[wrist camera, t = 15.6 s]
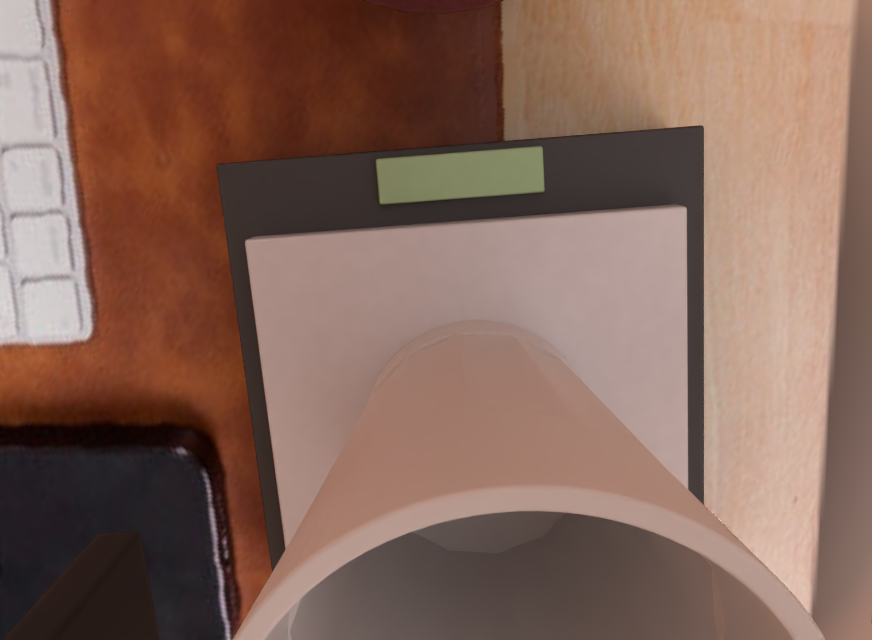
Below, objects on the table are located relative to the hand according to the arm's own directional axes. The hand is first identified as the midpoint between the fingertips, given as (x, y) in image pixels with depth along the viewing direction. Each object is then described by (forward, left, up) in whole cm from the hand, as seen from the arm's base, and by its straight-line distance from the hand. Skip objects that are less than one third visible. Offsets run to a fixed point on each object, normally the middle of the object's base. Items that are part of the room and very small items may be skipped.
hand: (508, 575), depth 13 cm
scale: (0, -1, -11) cm, 11 cm away
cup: (0, 0, -8) cm, 8 cm away
